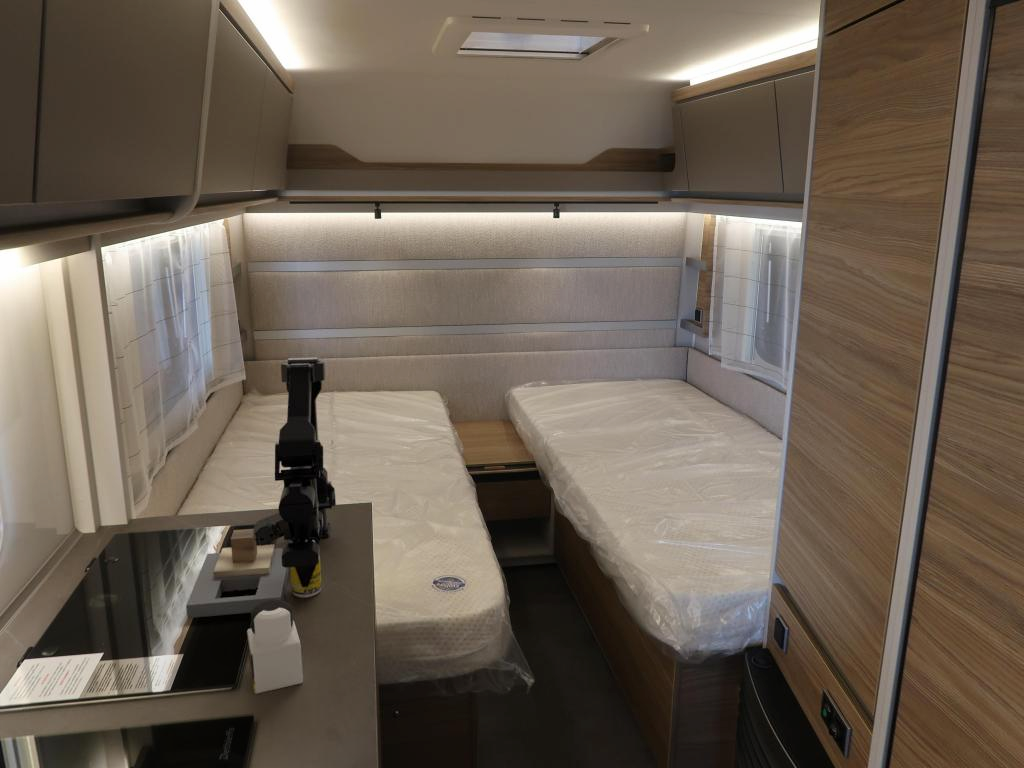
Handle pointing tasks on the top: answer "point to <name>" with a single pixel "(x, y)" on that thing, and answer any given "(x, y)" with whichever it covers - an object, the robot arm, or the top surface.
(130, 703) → the top surface
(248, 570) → the lid
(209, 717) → the top surface
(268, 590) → the board
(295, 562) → the robot arm
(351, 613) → the top surface
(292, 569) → the supplement bottle
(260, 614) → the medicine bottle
